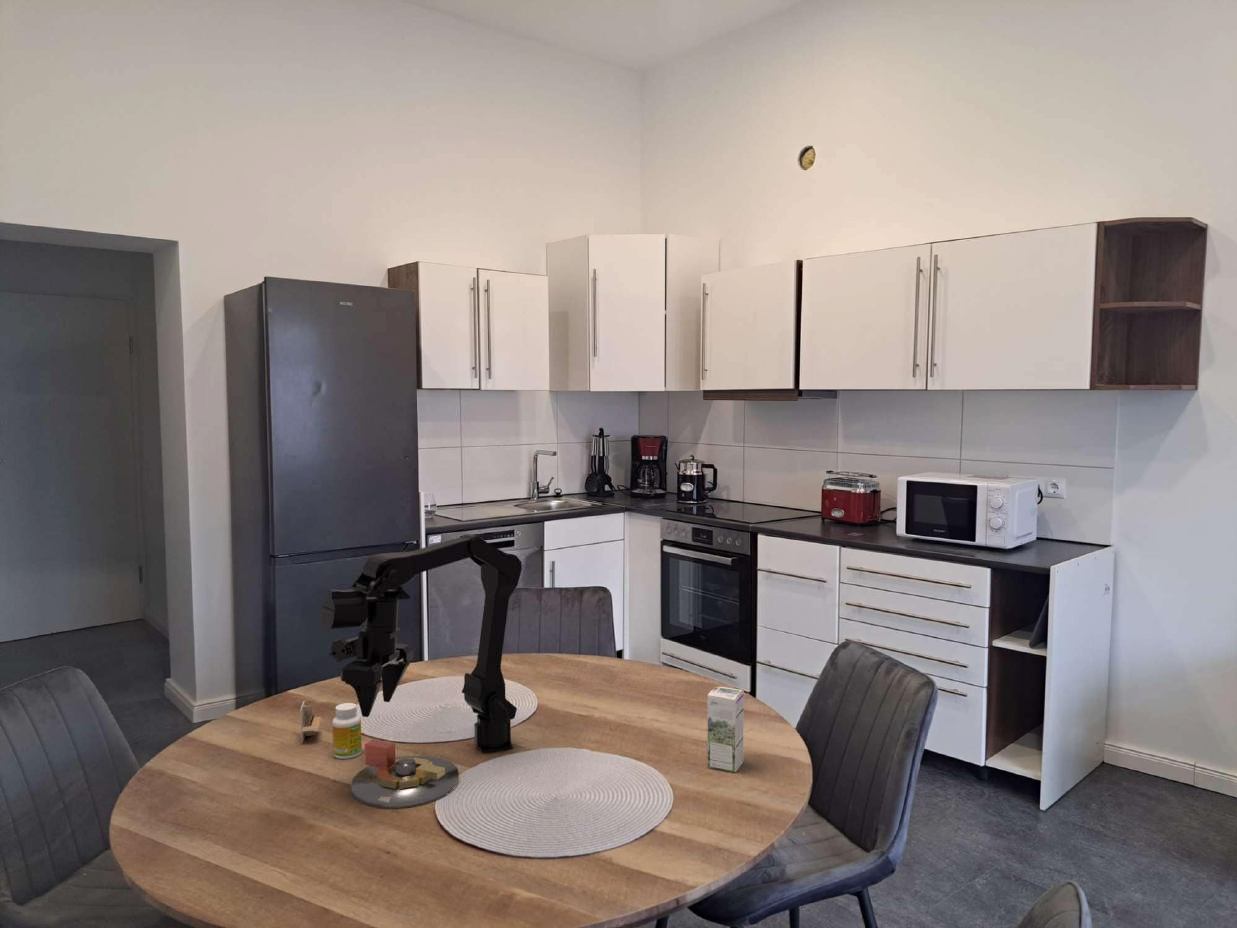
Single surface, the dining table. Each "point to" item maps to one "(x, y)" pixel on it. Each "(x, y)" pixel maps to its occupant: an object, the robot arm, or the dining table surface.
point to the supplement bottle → (346, 732)
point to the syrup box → (725, 728)
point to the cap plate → (389, 798)
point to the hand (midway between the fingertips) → (376, 708)
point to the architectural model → (308, 721)
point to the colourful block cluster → (384, 758)
